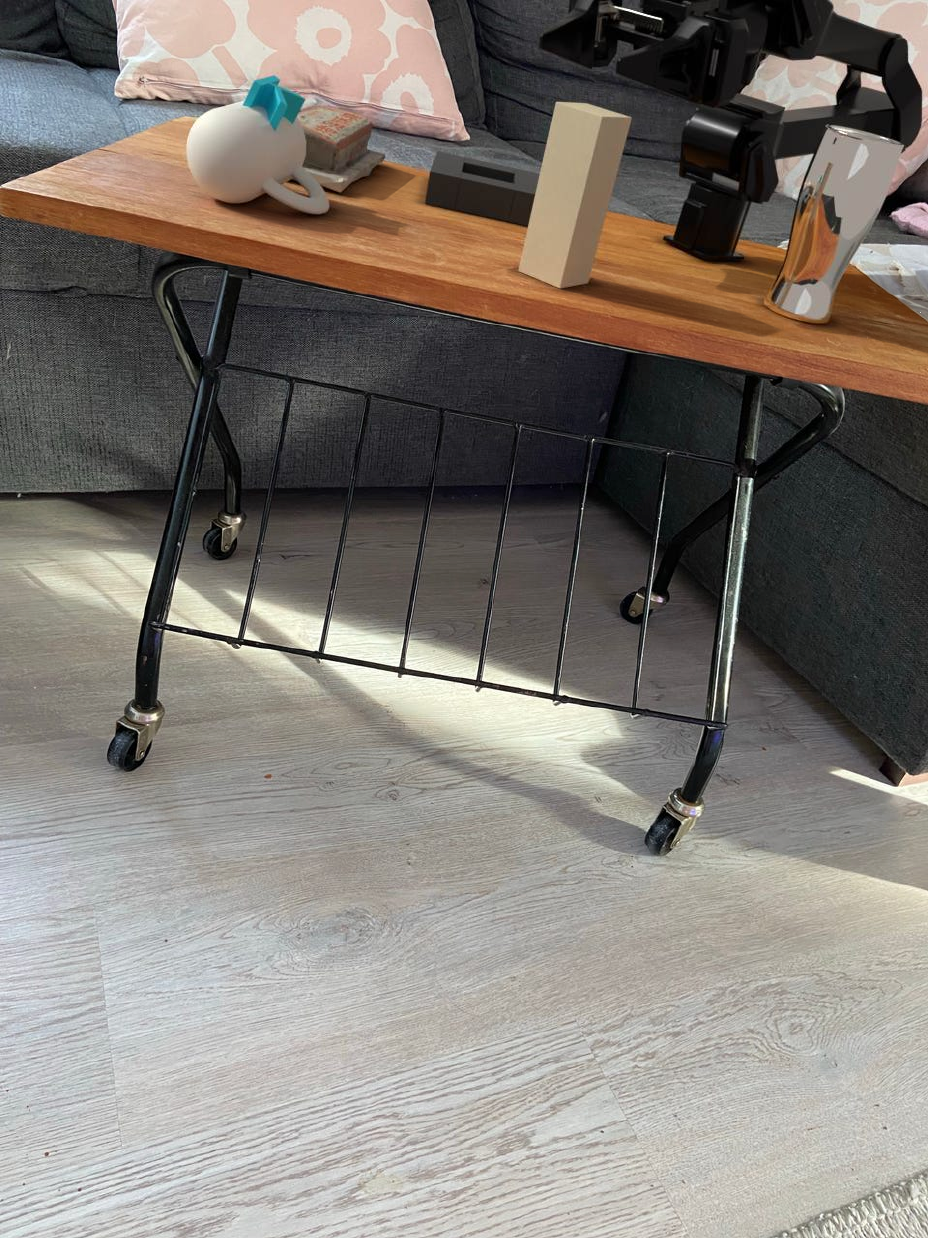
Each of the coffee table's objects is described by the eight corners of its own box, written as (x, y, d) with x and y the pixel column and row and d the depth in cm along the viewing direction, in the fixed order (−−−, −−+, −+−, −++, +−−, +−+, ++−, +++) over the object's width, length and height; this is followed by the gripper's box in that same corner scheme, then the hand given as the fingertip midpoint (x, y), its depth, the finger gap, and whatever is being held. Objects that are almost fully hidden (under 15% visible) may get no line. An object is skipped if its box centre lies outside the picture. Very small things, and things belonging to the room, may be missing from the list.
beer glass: (744, 301, 90) (809, 121, 81) (781, 295, 94) (846, 125, 86) (811, 329, 86) (885, 144, 78) (846, 322, 91) (920, 147, 82)
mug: (207, 66, 75) (261, 57, 85) (159, 171, 80) (216, 151, 90) (336, 166, 77) (374, 145, 87) (282, 262, 82) (324, 232, 92)
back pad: (547, 266, 86) (586, 102, 79) (588, 283, 84) (632, 117, 77) (517, 271, 83) (555, 101, 76) (559, 288, 81) (602, 116, 74)
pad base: (535, 203, 107) (542, 173, 105) (538, 228, 97) (545, 196, 96) (432, 180, 106) (437, 150, 104) (424, 203, 96) (430, 171, 95)
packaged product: (300, 94, 105) (391, 117, 105) (296, 143, 107) (384, 165, 107) (243, 113, 90) (348, 139, 90) (239, 169, 93) (341, 195, 92)
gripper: (646, -95, 87) (509, -84, 80) (818, -64, 76) (680, -48, 69) (628, 47, 94) (502, 69, 87) (783, 94, 84) (654, 123, 76)
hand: (577, 53), depth 80 cm, fingers open, 9 cm apart
